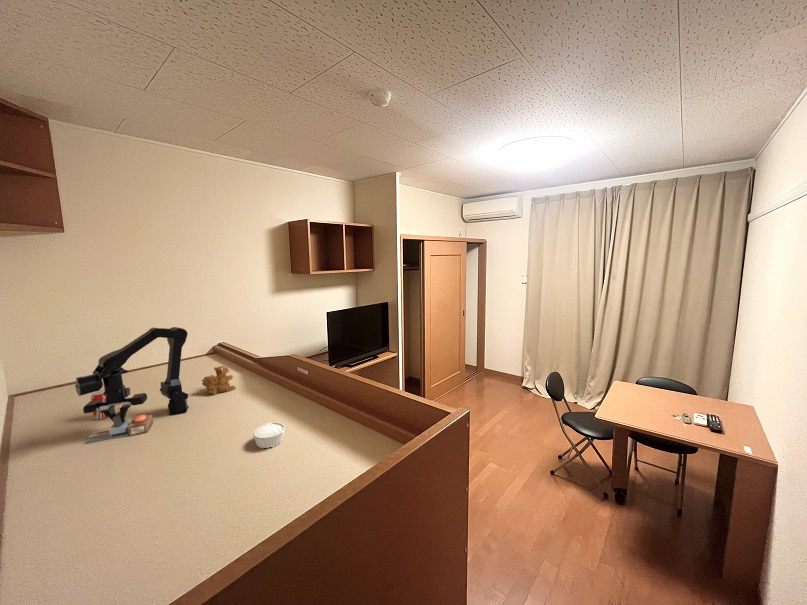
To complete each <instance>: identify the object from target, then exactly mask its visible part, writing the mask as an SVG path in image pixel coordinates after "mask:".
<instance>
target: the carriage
mask: <svg viewBox="0 0 807 605" xmlns="http://www.w3.org/2000/svg"><path fill="white" fill-rule="evenodd" d="M115 413H116V415H115V416H114V417H113V421H112V422H113V424H112V425H111V426H110V428H109V429H108V430H109V432H110V435H114V434H119V433H124V432H128V426H129V424H130V423H131V422H132V421H131V419H125V421H124V422H122V420H121V414H120V411H117V412H115Z"/></svg>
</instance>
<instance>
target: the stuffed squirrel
mask: <svg viewBox="0 0 807 605" xmlns="http://www.w3.org/2000/svg"><path fill="white" fill-rule="evenodd" d="M213 370H214V371H215V373H216V374H215V375H214V374H210V375H208V376H204V377H203V379H202V380H201V382H202V383H201V384H202V386H204V387H205V388H206V392H207V393H208V394H210V395H217V394H218V393H228V392H232V391H234V390H236V389H237V387H236V386H235V385H230V380H233V375H232V374H229V375H227V373H231V371H230V370H229V368H228V367H227V366H224V365H221V366H220V365H219V366H217V367H216V366H215V367H214V368H213Z"/></svg>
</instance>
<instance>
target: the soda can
mask: <svg viewBox="0 0 807 605" xmlns="http://www.w3.org/2000/svg"><path fill="white" fill-rule="evenodd" d="M104 391H105V390H104V388H103V389H100V390H99V391H95V392H92V393H91V396H90V401H95V400H102V402H106V396H105V395H104V393H103V392H104ZM100 411H101V410H100V408H96V410H95V411H94V412H92V413H93V418H94V419H96V420H105V419H108V418H109V417H108V416H106V415H105V414H104V413H100ZM109 419H110V418H109Z"/></svg>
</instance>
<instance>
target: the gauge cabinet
mask: <svg viewBox="0 0 807 605" xmlns="http://www.w3.org/2000/svg"><path fill="white" fill-rule="evenodd" d="M153 425H154V421H153V414H150V415H146V420H145V421H143V422H140V423H134V420H133V419H132V421H131V423H130V424H129V426H128V433H129V435H128V437H132V436H136V435H143V434H147V433H149V430H151V428H152V427H153Z"/></svg>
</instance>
